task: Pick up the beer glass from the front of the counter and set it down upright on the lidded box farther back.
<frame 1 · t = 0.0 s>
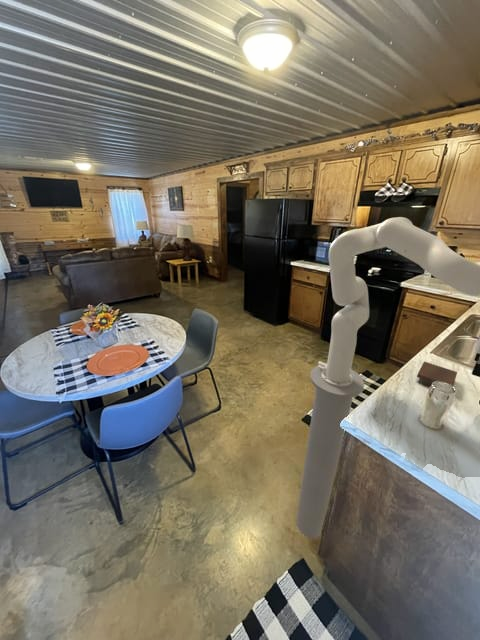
hand: (479, 368, 76), 25 cm above the counter, tool pointing down, fingers open, 9 cm apart
beer glass: (430, 422, 91), on the counter
lidded box: (434, 381, 111), on the counter
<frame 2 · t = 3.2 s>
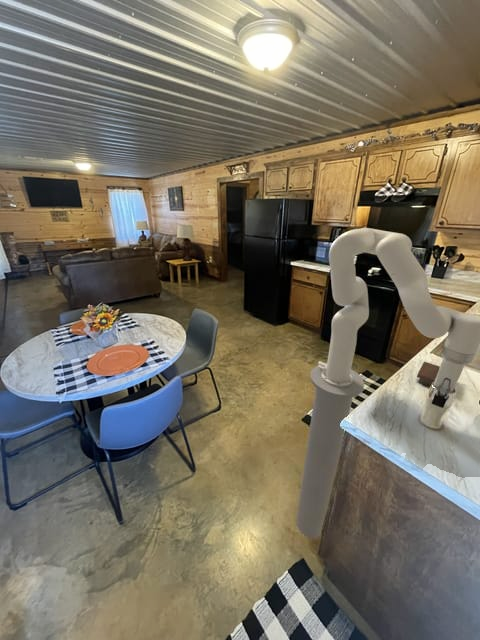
hand: (439, 399, 87), 10 cm above the counter, tool pointing down, fingers closed on beer glass, 7 cm apart
beer glass: (430, 422, 91), on the counter, touching gripper
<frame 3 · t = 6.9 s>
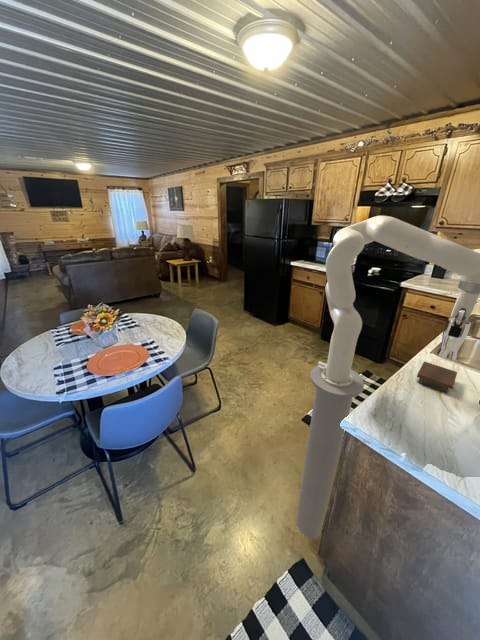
hand: (454, 332, 97), 26 cm above the counter, tool pointing down, fingers closed on beer glass, 7 cm apart
beer glass: (446, 356, 101), point 15 cm above the counter, touching gripper
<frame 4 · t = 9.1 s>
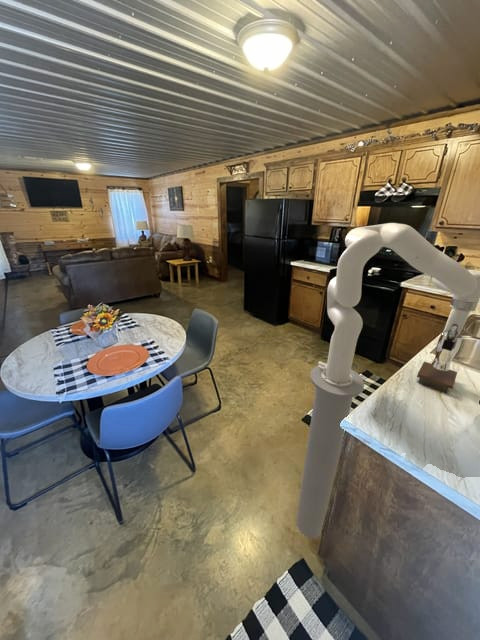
hand: (447, 345, 104), 18 cm above the counter, tool pointing down, fingers closed on beer glass, 7 cm apart
beer glass: (439, 367, 108), point 7 cm above the counter, touching gripper
when the fingers open (15 cm above the counter, at t = 10.5 s): beer glass stays where it is, resting on lidded box.
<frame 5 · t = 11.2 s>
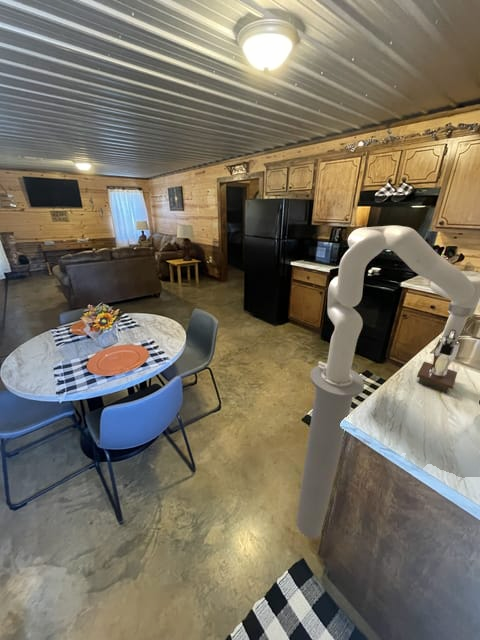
hand: (446, 349, 105), 16 cm above the counter, tool pointing down, fingers open, 9 cm apart
beer glass: (437, 373, 110), point 4 cm above the counter, touching lidded box
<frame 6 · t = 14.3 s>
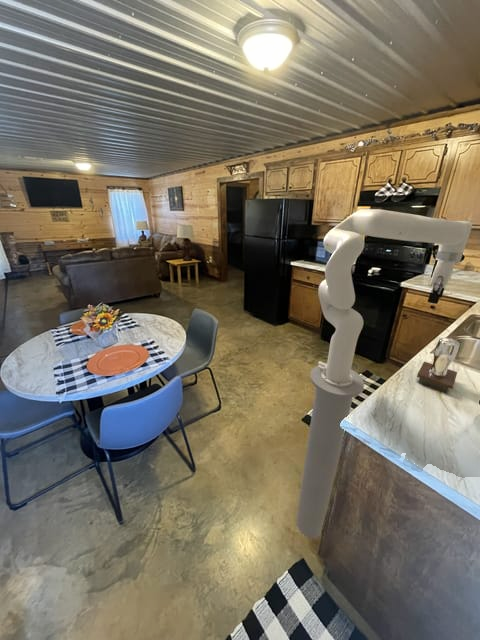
hand: (434, 299, 104), 34 cm above the counter, tool pointing down, fingers open, 9 cm apart
nothing on the counter moved.
at the end: beer glass inside the target area on the lidded box (0.1 cm from its centre), point 4.3 cm above the lidded box's base; beer glass tilted 0° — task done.
